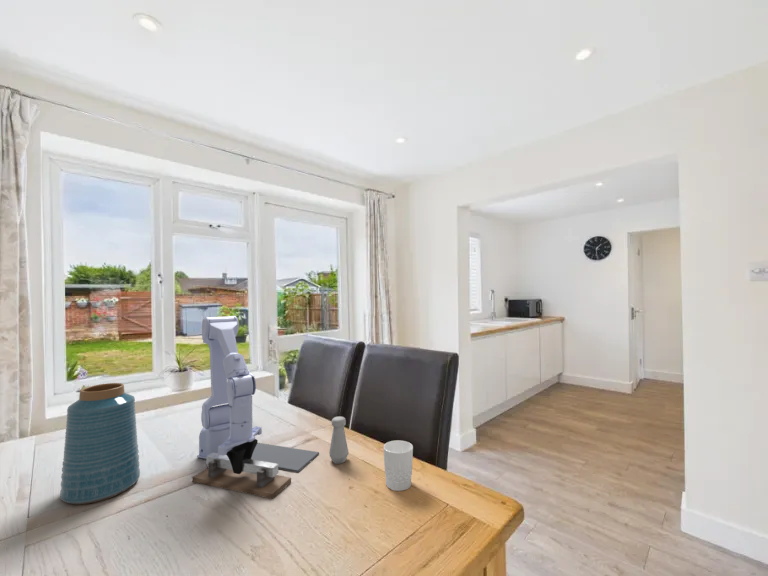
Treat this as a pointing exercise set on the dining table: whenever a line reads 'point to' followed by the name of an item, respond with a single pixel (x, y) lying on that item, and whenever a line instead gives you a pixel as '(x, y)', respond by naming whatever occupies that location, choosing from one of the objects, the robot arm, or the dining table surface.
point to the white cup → (398, 464)
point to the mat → (283, 456)
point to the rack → (242, 481)
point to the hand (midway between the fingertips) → (241, 470)
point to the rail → (244, 464)
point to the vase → (100, 445)
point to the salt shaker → (338, 441)
